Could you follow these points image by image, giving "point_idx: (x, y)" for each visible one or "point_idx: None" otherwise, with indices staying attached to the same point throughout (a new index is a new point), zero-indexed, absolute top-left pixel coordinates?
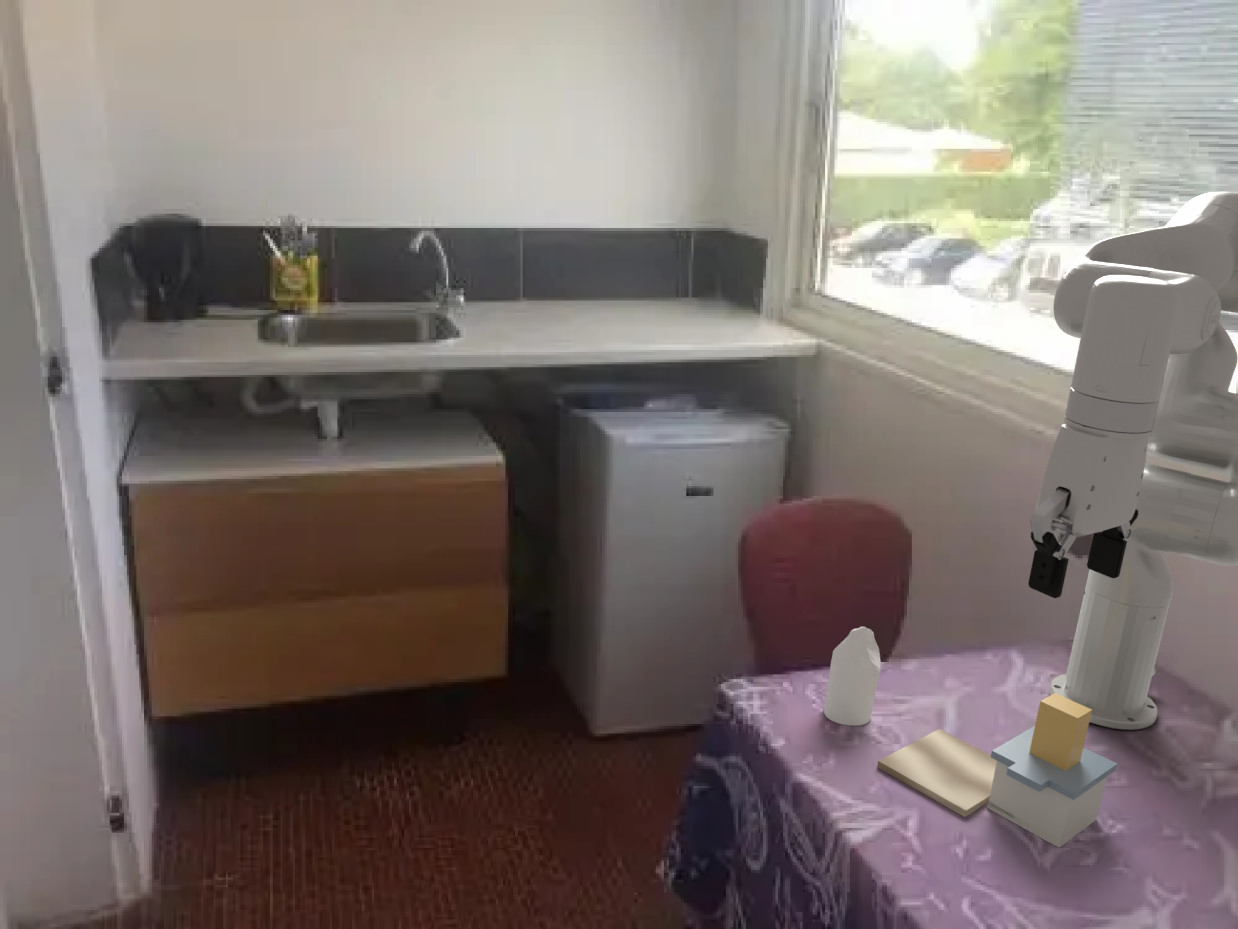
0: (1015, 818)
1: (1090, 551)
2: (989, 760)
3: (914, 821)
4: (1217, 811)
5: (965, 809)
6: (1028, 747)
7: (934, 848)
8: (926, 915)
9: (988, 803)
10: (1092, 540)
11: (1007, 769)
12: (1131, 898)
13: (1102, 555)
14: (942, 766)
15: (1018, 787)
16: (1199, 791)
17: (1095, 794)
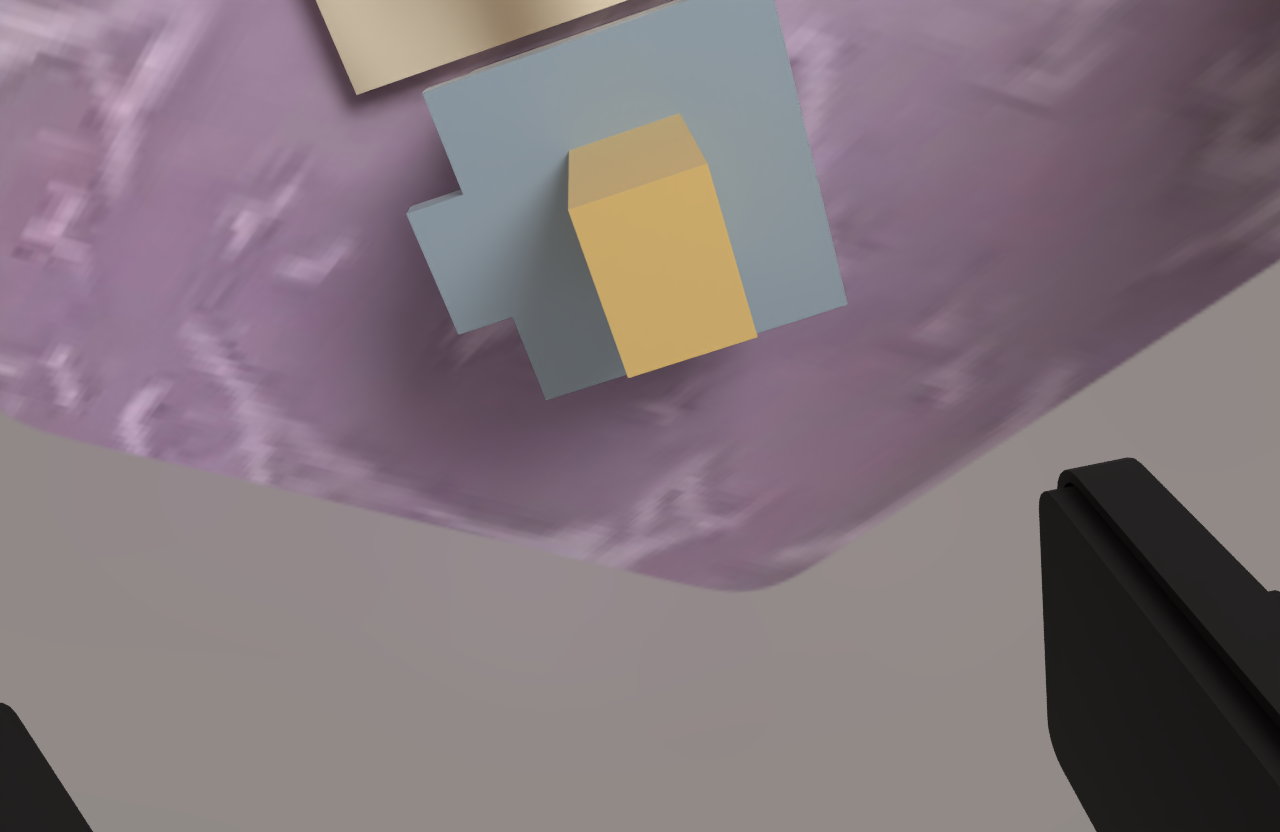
0: None
1: (1143, 621)
2: None
3: (172, 56)
4: (1176, 298)
5: (358, 88)
6: (593, 118)
7: (171, 194)
8: (9, 412)
9: (471, 72)
10: (1250, 744)
11: (407, 212)
12: (594, 498)
13: (1145, 769)
14: None
15: None
16: (1238, 205)
17: None
